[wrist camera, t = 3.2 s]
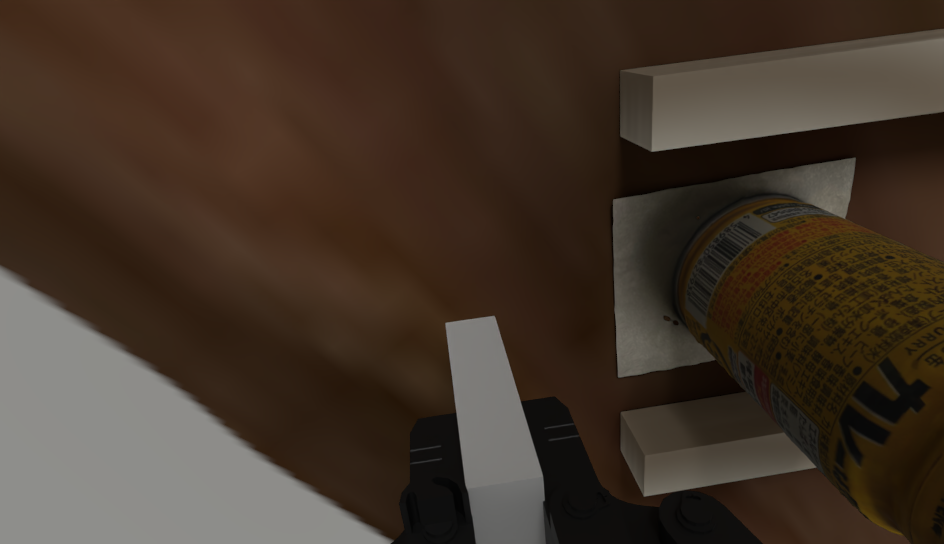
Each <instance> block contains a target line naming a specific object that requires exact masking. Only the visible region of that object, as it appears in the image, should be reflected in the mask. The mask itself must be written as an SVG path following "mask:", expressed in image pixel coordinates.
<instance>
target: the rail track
mask: <svg viewBox="0 0 944 544" xmlns="http://www.w3.org/2000/svg"><path fill="white" fill-rule="evenodd" d="M939 112H944V29H937V30H929V31H921V32H914V33H906V34H898V35H890V36H883V37H875V38H867V39H859V40H852V41H844V42H836V43H829V44H821V45H813V46H805V47H798V48H790V49H782V50H774V51H767V52H759V53H751V54H743V55H736V56H728V57H720V58H712V59H705V60H697V61H689V62H681V63H674V64H666V65H658V66H650V67H643V68H635V69H627V70H620V137H622V138H624V139H626V140H628V141H630V142H633V143H635V144H637V145H639V146H641V147H643V148H645V149H647V150H649V151H651V152H654V151H661V150H669V149H676V148H683V147H691V146H698V145H705V144H713V143H720V142H727V141H734V140H742V139H749V138H756V137H764V136H771V135H778V134H785V133H793V132H800V131H807V130H815V129H822V128H829V127H836V126H844V125H851V124H858V123H866V122H873V121H880V120H888V119H895V118H902V117H909V116H917V115H924V114H931V113H939ZM621 452H622V454H623V456H624V458H625V460H626V462H627V464H628V466H629V468H630V470H631V472H632V474H633V476H634V478H635V480H636V482H637V484H638V486H639V488H640V490H641V492H642V494H643V496H644V497H645V496H651V495H657V494H663V493H669V492H675V491H681V490H686V489H692V488H698V487H704V486H710V485H716V484H722V483H728V482H734V481H740V480H746V479H751V478H757V477H763V476H769V475H775V474H781V473H787V472H793V471H799V470H805V469H811V468H816V466H815V465H814V464H813V463H812V462H811V461H810V460H809V459H808V457H807V456H806V455H805V454H804V453H803V452H801V450H800V449H799V448H798V447H797V446H796V445H795V444H794V443H793V442H792V441H791V440H790V438H789V437H788V436H786V434H785V433H784V432H783V430H782V429H781V428H780V427H779V426H778V425H777V424H776V423H775V422H774V421H773V420H772V419H771V418H770V416H768V414H767V413H766V412H765V411H764V410H763V409H762V408H761V407H760V406H759V405H758V403H756V402H755V401H754V399H753V398H752V397H751V396H750V395H749V394H748V393H747V392H741V393H735V394H729V395H723V396H717V397H710V398H704V399H698V400H692V401H686V402H679V403H673V404H667V405H661V406H654V407H648V408H642V409H636V410H630V411H623V412H621Z"/></svg>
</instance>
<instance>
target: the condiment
mask: <svg viewBox="0 0 944 544" xmlns="http://www.w3.org/2000/svg"><path fill="white" fill-rule="evenodd" d="M855 161H856V158H850V159H844V160H838V161H831V162H825V163H818V164H811V165H805V166H799V167H795V168H790V169H781V170H775V171H768V172H763V173H760V174H752V175H747V176H742V177H737V178H730V179H726V180H722V181H718V182H713V183H708V184H698V185H692V186H687V187H679V188H673V189H667V190H662V191H658V192H653V193H649V194H645V195H638V196H631V197H625V198H619V199H613V220H614V222H613V253H614V291H615V309H614V311H615V319H616V349H617V363H618V378H620V377H626V376H631V375H640V374H645V373H649V372H652V371H658V370H669V369H673V368H676V367H680V366H686V365H696V364H699V363H702V362H709V361H712V360H717V362H718V363H719V365H721V366H722V367H724V368H725V370H726V371H727V372H728V374H729V375H730V376H731V377H732V378H734V379H735V381H736V382H737V383H738V384H739V385H740V386H741V388H743V389H744V390H745V391H746V392H747V393H748V394H749V395H750V396H751V397H752V398H753V399H754V401H755V402H756V403H758V405H759V406H760V407H761V408H762V409H763V410H764V411H765V412H766V413H767V414H768V416H770V418H771V419H772V420H773V421H774V422H775V423H776V424H777V425H778V426H779V427H780V428H781V429H782V430H783V432H784V433H785V434H786V436H788V437H789V438H790V440H791V441H792V442H793V443H794V444H795V445H796V446H797V447H798V448H799V449H800V450H801V452H803V453H804V454H805V455H806V456H807V457H808V459H809V460H810V461H811V462H812V463H813V464H814V465H815V466H816V467H817V468H818V469H819V470H820V471H821V472H822V473H823V474H824V475H825V476H826V477H827V478H828V480H829V481H830V482H831V483H832V484H833V485H834V486H835V487H836V488H837V489H838V490H839V492H840V493H841V494H842V495H843V496H845V497H846V498H847V500H848V501H849V502H850V503H851V504H852V505H853V506H854V507H856V508H857V509H858V510H859V512H860V513H862V514H863V515H864V516H865V518H867V519H869V520H870V521H871V522H873V523H875V524H876V525H878V526H880V527H883V528H885V529H887V530H889V531H890V532H893V533H896V534H899V535H903V536H905V537H906V538H907V539H908V540H909V542H910V543H911V544H944V262H942V261H940V260H937V259H935V258H933V257H930V256H928V255H925V254H923V253H921V252H919V251H917V250H914V249H912V248H910V247H908V246H906V245H904V244H902V243H900V242H897V241H894V240H892V239H889V238H887V237H885V236H882V235H880V234H878V233H876V232H873V231H871V230H869V229H866V228H864V227H862V226H860V225H857V224H855V223H853V222H851V221H849V220H846V219H845V216H846V214H847V209H848V204H849V202H850V195H851V189H852V183H853V177H854V170H855ZM698 216H699V217H700V219H699V220H697V218H696V217H698ZM664 315H665V316H668V317H670V319H671V320H670V321H669V322H668V321H666V320H664V319H663V316H664ZM674 320H677V321H678V322H679V324H678V325H674V324H673V321H674Z"/></svg>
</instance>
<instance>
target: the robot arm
mask: <svg viewBox="0 0 944 544" xmlns="http://www.w3.org/2000/svg"><path fill="white" fill-rule="evenodd" d="M445 324H446V332H447V340H448V348H449V356H450V365H451V373H452V381H453V389H454V397H455V405H456V413H453V414H446V415H440V416H433V417H427V418H420V419H418V420H417V422H416V424H415V426H414V427H413V429H412V431H411V433H410V483H409V485H408V486H407V487H406V488H405V490H404V491H403V492H402V495H401V498H400V502H399V505H400V510H401V515H402V519H403V524H404V528H405V530H404V531H403V532H402V534H401V535H400V536H399V537H398V538H397V539H396V540H395V541H394V542H392V543H391V544H763V543H762V542H761V541H760V540H759V539H758V538H757V537H756V536H754V535H753V534H752V533H751V532H750V531H749V530H748V529H747V528H746V527H745V526H744V525H743V524H742V523H741V522H740V521H739V520H738V519H737V518H736V517H735V516H734V515H733V514H732V513H731V512H730V511H729V510H728V509H727V508H726V507H725V506H724V505H723V504H721V503H720V502H719V501H717V500H716V499H714V498H713V497H711V496H708V495H706V494H703V493H701V492H695V491H686V490H685V491H680V492H675V493H672V494H670V495H669V496H667V497H666V498H664V499H663V501H662V503H661V505H660V507H651V506H642V505H635V504H631V503H626V502H624V501H621V500H619V499H617V498H615V497H614V496H612V495H611V494H610V493H609V491H608V490H606V489H605V488H603V487H602V486H601V484H600V482H599V481H598V478H597V476H596V474H595V471H594V469H593V467H592V464H591V462H590V460H589V457H588V455H587V452H586V450H585V448H584V445H583V443H582V441H581V438H580V437H579V434H578V431H577V429H576V426H575V425H574V422H573V419H572V417H571V415H570V412H569V410H568V408H567V407H566V406H565V405H564V404H563V403H561V402H560V401H559V400H558V399H557V398H556V397H548V398H541V399H535V400H528V401H522V402H521V401H520V398H519V395H518V391H517V388H516V385H515V381H514V378H513V375H512V372H511V368H510V365H509V362H508V358H507V355H506V352H505V348H504V345H503V342H502V338H501V335H500V332H499V328H498V325H497V322H496V319H495V316H489V317H483V318H476V319H469V320H462V321H455V322H448V323H445Z"/></svg>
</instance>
